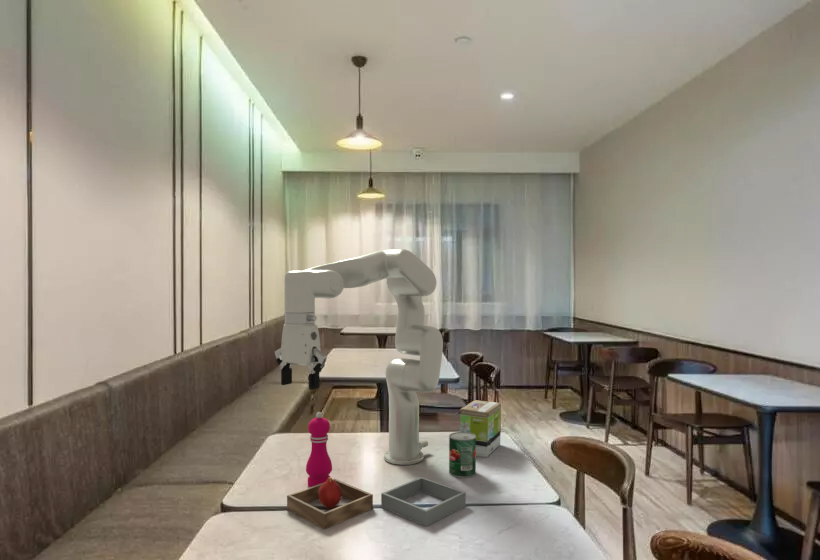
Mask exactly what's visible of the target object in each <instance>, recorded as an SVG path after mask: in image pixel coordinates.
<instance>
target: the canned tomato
mask: <svg viewBox="0 0 820 560" xmlns="http://www.w3.org/2000/svg"><path fill="white" fill-rule="evenodd" d="M448 439H449V441H448V443H449V444H448V452H449V453H448V457H449V458H448V473H449V476H452V477H455V478H461V479H462V478H463V479H467V478H472V477H474V476H475V475H476V474H477V473H476V472H477V471H476V469H477V468H476V466H477V463H476V462H477V461H476V460H477V459H476V458H477V456H476V435H475V434H472V433H468V432H460V431H456V432H452V433H449V435H448Z"/></svg>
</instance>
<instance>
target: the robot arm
mask: <svg viewBox="0 0 820 560" xmlns="http://www.w3.org/2000/svg"><path fill="white" fill-rule="evenodd" d="M385 279H386V285H387V289H388V290H389V291H390V293H391V294H392V296H393V298H394V299H395V301H396V305H397V311H398V312H397V320H396V329H395V337H394V346H395V347H394V348H395V349H396V351H397V352H399V353H400V354H403V355H404V354H405V355H410V356H418V357H419V360H417V359H413V358H405V357H402V358H401V357H400V358H399V357H398V358H394V359H393V360H391V361H390V362H389V363H388V364H387V366H386V368H385V379H386V387H387V391H388V451H386V452H385V453H383V459H384V461H386V462H387V463H389V464H393V465H399V466H400V465H402V466H405V465H407V466H408V465H409V466H410V465H414V464H418V463H420V462H422V461H423V460H424V457H425V454H424V453H423V452H422V449H423V448H426V447H428V446H429V442H428V440H423V441H420V416H419V415H420V402H419V397H418V395H417V393H416V392H418V393H424V394H425V393H426V394H428V393H432V392H434V390H436V388H437V387H438V384H439V380H440V376H441V367H442V358H443V351H444V340H443V335H442V333H441V331H440V330H439V329H438V328H437V327H435V326H433V325H432V326H431V325H425V306H424V304H423V302H422V300H421V298H420V297H428V296H430V295H432V294H433V293H434V292H435V290H436V288H437V277H436V275H435V273H434V272H433V270H432V269H431V268H430V266H428V265H427V264H426V263H425V262H424V261H423V260H422V259H420V258H419V257H418V256H417V255H416V254H414V252H412V251H410V250H408V249H405V248H404V249H403V248H398V249H397V248H396V249H395V248H394V249H381V250H376V251H374V252H370V253H368V254H367V253H366V254H363V255H361V256H357V257H353V258H352V257H351V258H348V259H344V260H339V261H335V262H331V263H325V264H320V265H317V266H314V267H310V268H307V269H303V270H290V271H287V272H286V273H285V275H284V324H283V328H282V335H281V343H280V344H281V345H280V348H278V349H276V350H274V355H275V359H276V362H277V363H278V366H279V367H278V368H279V370H280V373H281V374H280V376H281V377H280V382H281V383H280V384H281V386H287V385H291V384H292V383H293V368H291V366H292V365H299V366H306V367H307V369H308V370H309V372H310V373H308V389H309V390H310V391H312V390H318V389H319V388H320V373H322V370H323V369H324V367H325V364H326V362H327V358H328V356H327V355H326V354H324V352H322V351H321V350H322V349H321V337H320V331H319V328H318V324H316V321H317V319H318V318H317V316H316V306H315V305H316V304H315V303H316V302H315V301H316V300H315V299H327V300H330V299H333V298H337V297H338V296H340V295H341V294H342V293H343V291H344V289H355V288H362V287H365V286H368V285H371V284H373V283H376V282H379V281H382V280H385Z"/></svg>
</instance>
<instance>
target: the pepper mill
mask: <svg viewBox="0 0 820 560" xmlns="http://www.w3.org/2000/svg"><path fill="white" fill-rule="evenodd" d="M330 428H331V424H330V421H329V420H328V419H327V418H325V417H323V413H322V412H320V411H317V412H316V414H315V417H314V418H312V419H311V420H310V421H309V423H308V426H307V429H308V430H307V431H308V432H309V434H310V436H309V441H310V442H311V450H310V455H309V457H308V459H307V462H306V466H305V473H306V474H307V475H308V477H307V485H308V486H309V488H310V487H313V486H316V485H318V484H321V483H324V482H326V481H327V479H328V478H331V476H330V474H331V473H332V470H333V465H332V459H331V458H330V455H329V453H328V448H327V447H328V446H327V442H328V441H329V434H328V433H329V432H330Z"/></svg>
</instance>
